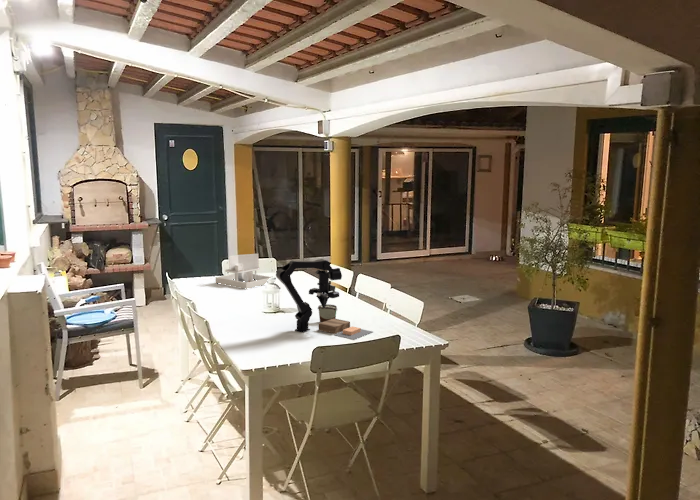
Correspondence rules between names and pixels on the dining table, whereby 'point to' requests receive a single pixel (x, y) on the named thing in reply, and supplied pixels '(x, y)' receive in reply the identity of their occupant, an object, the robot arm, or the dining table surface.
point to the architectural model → (243, 266)
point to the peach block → (351, 330)
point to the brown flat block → (334, 326)
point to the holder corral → (228, 281)
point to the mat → (355, 336)
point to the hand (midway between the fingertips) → (323, 307)
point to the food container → (327, 312)
